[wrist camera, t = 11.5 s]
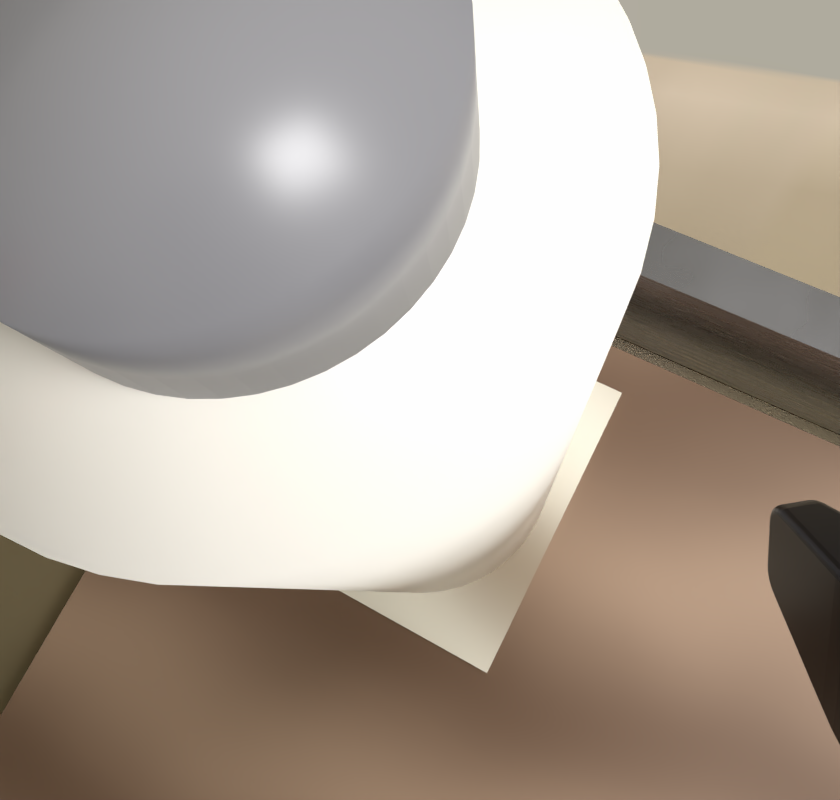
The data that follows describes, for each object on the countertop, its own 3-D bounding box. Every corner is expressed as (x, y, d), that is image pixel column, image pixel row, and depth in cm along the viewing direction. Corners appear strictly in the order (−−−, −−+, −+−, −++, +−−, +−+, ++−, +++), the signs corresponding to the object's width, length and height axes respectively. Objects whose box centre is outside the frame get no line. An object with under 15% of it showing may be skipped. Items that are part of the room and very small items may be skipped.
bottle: (477, 642, 17) (362, 839, 3) (249, 516, 18) (-532, 277, 4) (595, 400, 18) (882, -224, 4) (372, 297, 19) (40, -443, 6)
